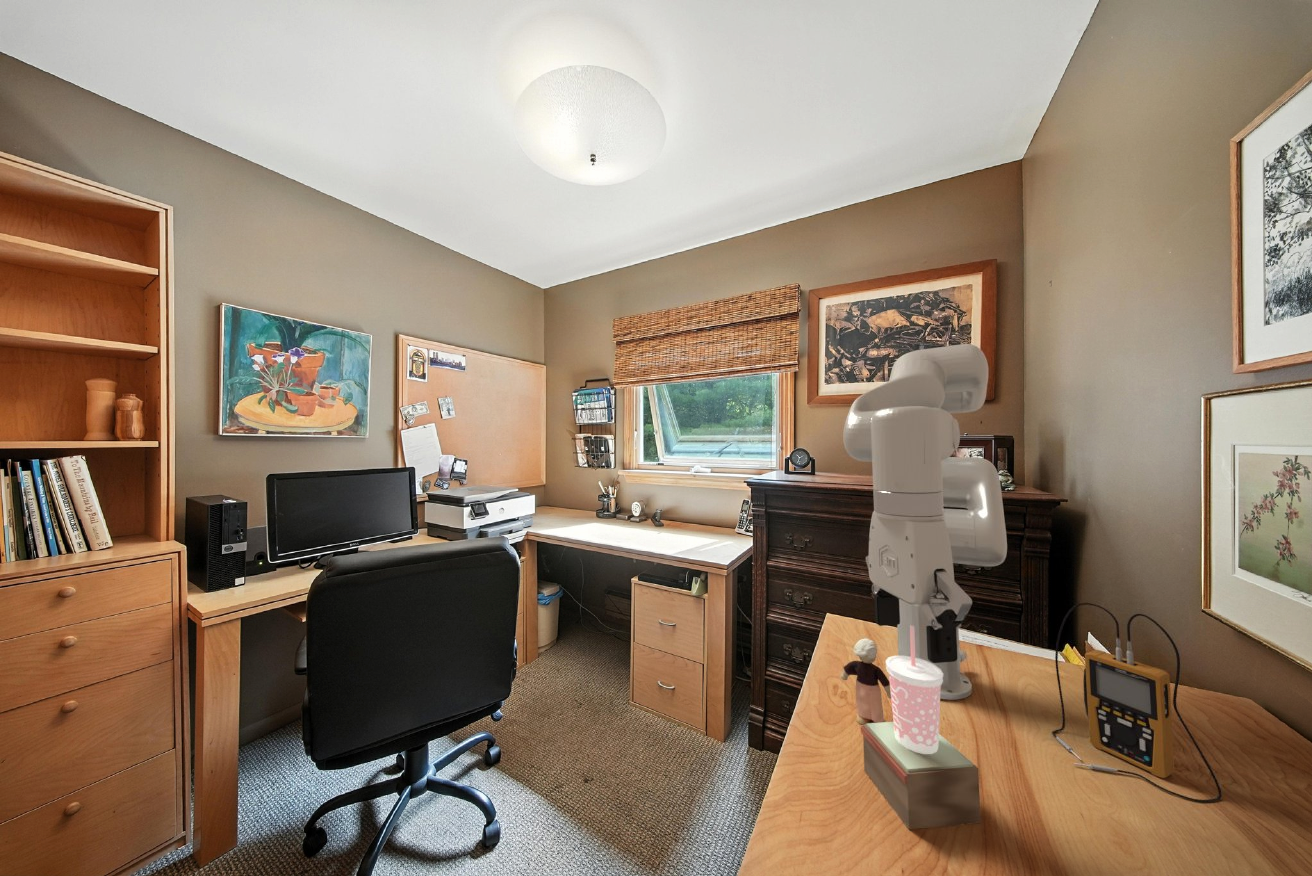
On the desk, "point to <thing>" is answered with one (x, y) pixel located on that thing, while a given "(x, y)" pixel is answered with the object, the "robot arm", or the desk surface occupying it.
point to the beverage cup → (915, 700)
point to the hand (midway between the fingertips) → (912, 640)
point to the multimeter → (1130, 709)
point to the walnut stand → (922, 780)
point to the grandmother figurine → (867, 682)
